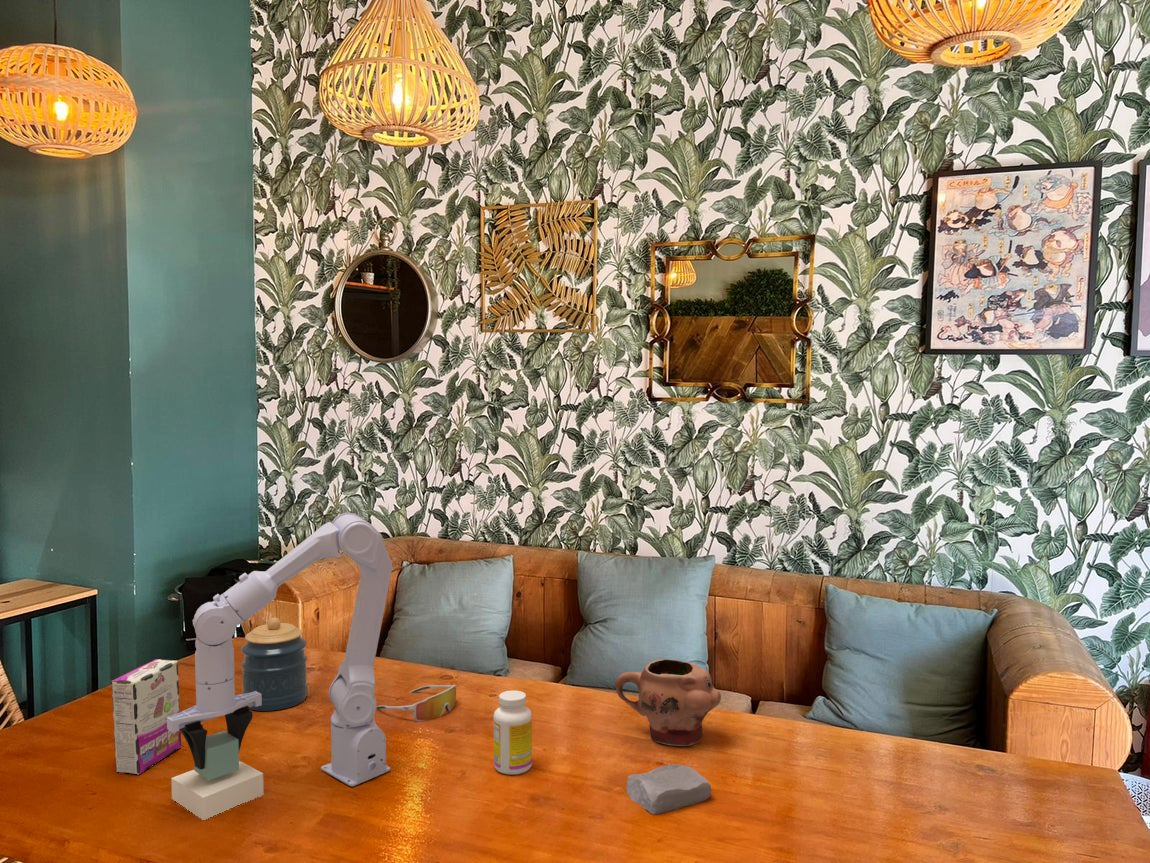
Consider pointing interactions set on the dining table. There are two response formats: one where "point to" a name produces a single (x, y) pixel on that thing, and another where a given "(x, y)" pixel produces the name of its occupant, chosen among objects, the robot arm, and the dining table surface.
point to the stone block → (668, 788)
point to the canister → (275, 665)
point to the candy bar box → (145, 715)
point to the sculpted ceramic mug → (672, 699)
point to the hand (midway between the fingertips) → (217, 761)
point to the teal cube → (220, 755)
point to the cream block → (216, 790)
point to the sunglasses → (429, 703)
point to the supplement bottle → (512, 734)
